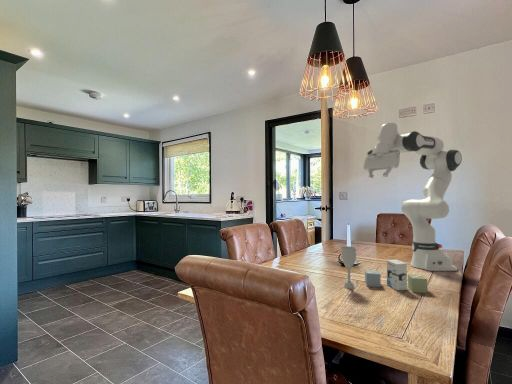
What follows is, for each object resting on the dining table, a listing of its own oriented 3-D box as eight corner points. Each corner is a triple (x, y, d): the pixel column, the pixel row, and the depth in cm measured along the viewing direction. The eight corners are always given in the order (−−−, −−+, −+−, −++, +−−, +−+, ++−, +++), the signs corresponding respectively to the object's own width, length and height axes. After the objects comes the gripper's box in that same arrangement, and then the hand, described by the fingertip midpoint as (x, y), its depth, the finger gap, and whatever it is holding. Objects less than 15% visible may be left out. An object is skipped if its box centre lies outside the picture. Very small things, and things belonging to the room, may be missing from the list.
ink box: (386, 284, 135) (386, 259, 135) (396, 284, 136) (396, 259, 136) (396, 290, 127) (396, 264, 127) (407, 290, 127) (407, 263, 127)
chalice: (357, 285, 134) (357, 246, 134) (357, 290, 128) (357, 249, 128) (341, 283, 137) (340, 246, 137) (340, 288, 130) (340, 248, 130)
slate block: (378, 283, 138) (378, 270, 138) (380, 287, 132) (380, 273, 132) (364, 282, 139) (364, 269, 139) (366, 286, 133) (366, 273, 133)
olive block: (422, 288, 129) (422, 274, 129) (427, 293, 124) (427, 278, 124) (408, 287, 131) (407, 274, 131) (411, 292, 125) (411, 277, 125)
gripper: (404, 151, 142) (399, 177, 140) (373, 156, 161) (367, 180, 159) (396, 146, 140) (390, 173, 138) (364, 152, 158) (359, 176, 157)
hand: (377, 177), depth 148 cm, fingers open, 8 cm apart
